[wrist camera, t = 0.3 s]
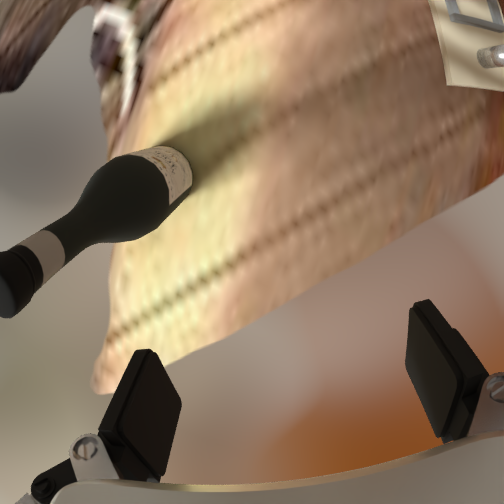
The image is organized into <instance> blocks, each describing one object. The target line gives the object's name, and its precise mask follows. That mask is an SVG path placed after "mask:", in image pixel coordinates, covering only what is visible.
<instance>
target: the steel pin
mask: <svg viewBox="0 0 504 504" xmlns="http://www.w3.org/2000/svg"><path fill="white" fill-rule="evenodd" d="M477 60H478V62H479V64H480V65H481V66H482V67H483V68H485V69H489V68H498V67H504V44H503V45H498V46H493V47H488V48H483V49H479V50H478V51H477Z"/></svg>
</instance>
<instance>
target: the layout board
mask: <svg viewBox="0 0 504 504" xmlns="http://www.w3.org/2000/svg"><path fill="white" fill-rule="evenodd" d="M428 2H429V5H430V9H431V12H432V16H433V19H434V23H435V27H436V31H437V36H438V40H439V44H440V49H441V54H442V59H443V64H444V70H445V76H446V82H447V85H449V86H461V87H471V88H480V89H487V90H495V91H501V92H504V67H498V68H489V69H485V68H483V67H482V66H481V65H480V64H479V62H478V60H477V51H478V50H479V49H483V48H488V47H493V46H498V45H503V44H504V18H503V15H502V11H501V8H500V5H499V2H498V0H428Z"/></svg>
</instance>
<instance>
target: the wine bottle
mask: <svg viewBox="0 0 504 504" xmlns="http://www.w3.org/2000/svg"><path fill="white" fill-rule="evenodd" d="M192 184H193V172H192V169H191V166H190V163H189V161H188V160H187V159H186V157H185V156H184V155H183V154H182V153H181V152H179V151H178V150H176V149H174V148H172V147H166V146H157V147H153V148H148V149H144V150H140V151H136V152H133V153H129V154H125V155H122V156H118V157H115V158H113V159H112V160H110V161H109V162H108V163H106V164H105V165H104V166H102V167H101V168H100V169H99V170H97V171H96V172H95V173H94V175H93V176H92V177H91V179H90V181H89V182H88V184H87V185H86V187H85V189H84V191H83V193H82V195H81V197H80V199H79V201H78V203H77V204H76V205H75V207H74V208H73V209H72V210H71V211H70V212H69V213H68V214H67V215H65V216H63V217H62V218H60V219H59V220H57V221H55V222H53V223H52V224H50V225H48V226H47V227H45V228H43V229H41V230H40V231H38V232H37V233H35V234H33V235H31V236H30V237H28V238H27V239H25V240H23V241H22V242H20V243H19V244H17V245H15V246H14V247H12V248H11V249H9V250H8V251H3V252H0V317H2V318H12V317H13V316H15V315H16V314H18V313H19V312H20V311H21V310H22V309H23V308H24V307H25V306H26V305H27V304H28V303H29V302H30V301H31V298H32V296H33V294H34V293H35V292H36V291H37V290H38V289H39V288H41V287H42V286H43V285H44V284H45V283H46V282H47V281H48V280H49V279H50V278H51V277H52V276H54V275H55V274H56V273H57V272H58V271H59V270H60V269H61V268H63V267H64V266H65V265H66V264H67V263H68V262H69V261H71V260H72V259H73V258H74V257H75V256H77V255H78V254H79V253H80V252H81V251H83V250H84V249H85V248H87V247H89V246H91V245H94V244H97V243H118V242H125V241H132V240H136V239H139V238H141V237H143V236H144V235H146V234H148V233H150V232H151V231H153V230H155V229H157V228H158V227H159V225H160V224H161V223H162V222H163V221H164V220H165V219H166V218H167V217H168V216H169V215H170V214H171V213H172V212H173V211H174V210H175V209H176V208H177V207H178V206H179V205H180V204H181V203H182V201H183V200H184V199H185V198H186V197H187V195H188V194H189V192H190V189H191V186H192Z"/></svg>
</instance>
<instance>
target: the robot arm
mask: <svg viewBox="0 0 504 504" xmlns="http://www.w3.org/2000/svg"><path fill="white" fill-rule="evenodd" d="M405 365H406V370H407V372H408V375H409V377H410V379H411V381H412V383H413V385H414V387H415V390H416V392H417V394H418V396H419V398H420V401H421V403H422V405H423V407H424V409H425V412H426V414H427V417H428V419H429V421H430V423H431V426H432V428H433V431H434V433H435V435H436V437H437V438H439V437H441V439H442V441H443V443H444V445H441V446H438V447H435V448H432V449H429V450H426V451H423V452H420V453H417V454H413V455H410V456H407V457H403V458H400V459H397V460H393V461H389V462H386V463H382V464H378V465H374V466H370V467H366V468H361V469H357V470H352V471H348V472H342V473H337V474H331V475H326V476H320V477H314V478H306V479H300V480H291V481H282V482H271V483H258V484H238V485H186V484H169V483H160V479H161V476H163V475H164V474H165V472H166V468H167V464H168V459H169V455H170V451H171V447H172V443H173V439H174V435H175V431H176V427H177V422H178V419H179V414H180V411H181V407H182V403H181V399H180V397H179V395H178V393H177V391H176V390H175V388H174V386H173V384H172V382H171V380H170V378H169V376H168V374H167V373H166V371H165V369H164V367H163V365H162V363H161V361H160V359H159V357H158V355H157V353H156V352H153V351H152V350H151V349H141V350H136V351H135V352H134V354H133V356H132V358H131V360H130V362H129V364H128V366H127V368H126V370H125V372H124V374H123V376H122V378H121V381H120V383H119V385H118V387H117V389H116V391H115V393H114V396H113V398H112V400H111V402H110V404H109V406H108V408H107V411H106V413H105V415H104V418H103V419H102V422H101V424H100V426H99V428H98V430H99V432H98V435H95V434H91V433H90V434H84V435H81V436H80V437H78V438H77V439H76V440H75V441H74V442H73V443H72V445H71V447H70V450H69V456H70V458H69V459H67V460H65V461H63V462H62V463H60V464H58V465H56V466H54V467H53V468H51V469H49V470H47V471H45V472H43V473H41V474H40V475H38V476H37V477H36V478H35V479H34V481H33V483H32V485H31V494H29V493H26V494H25V495H24V496H23V497H22V498H21V499H20V500H19V501H18V502H16V503H15V504H504V372H498V373H494V374H492V375H489V374H488V372H487V371H486V369H485V368H484V366H483V365H482V363H481V362H480V361H479V359H478V358H477V356H476V355H475V353H474V352H473V351H472V349H471V348H470V347H469V345H468V344H467V342H466V341H465V340H464V338H463V337H462V336H461V334H460V333H459V332H458V331H457V330H456V329H454V328H451V326H450V325H449V324H448V322H447V321H446V320H445V318H444V317H443V316H442V314H441V313H440V312H439V310H438V309H437V308H436V307H435V305H434V304H433V303H432V302H431V301H430V300H429V299H427V300H423V301H419V302H415V303H414V305H413V307H412V308H410V310H409V325H408V338H407V349H406V359H405ZM452 440H453V442H450V441H452ZM447 442H450V443H447ZM445 443H447V444H445Z"/></svg>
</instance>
